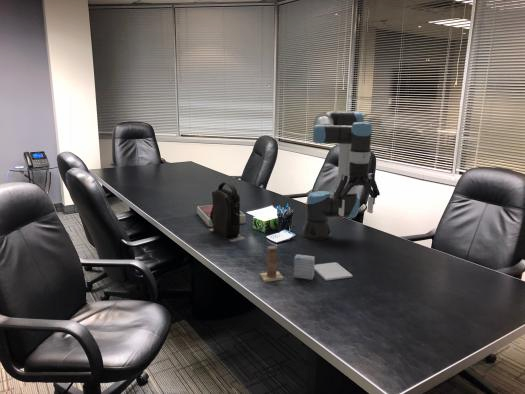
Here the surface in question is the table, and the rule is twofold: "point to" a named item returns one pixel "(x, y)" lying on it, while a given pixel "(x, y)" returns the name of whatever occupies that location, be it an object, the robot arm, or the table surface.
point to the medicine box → (304, 266)
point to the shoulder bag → (226, 213)
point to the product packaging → (206, 210)
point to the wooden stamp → (271, 266)
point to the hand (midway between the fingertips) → (355, 214)
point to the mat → (331, 271)
